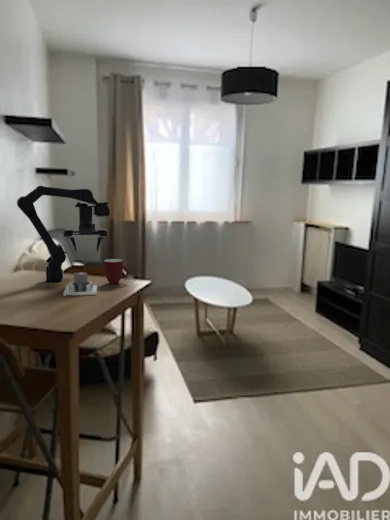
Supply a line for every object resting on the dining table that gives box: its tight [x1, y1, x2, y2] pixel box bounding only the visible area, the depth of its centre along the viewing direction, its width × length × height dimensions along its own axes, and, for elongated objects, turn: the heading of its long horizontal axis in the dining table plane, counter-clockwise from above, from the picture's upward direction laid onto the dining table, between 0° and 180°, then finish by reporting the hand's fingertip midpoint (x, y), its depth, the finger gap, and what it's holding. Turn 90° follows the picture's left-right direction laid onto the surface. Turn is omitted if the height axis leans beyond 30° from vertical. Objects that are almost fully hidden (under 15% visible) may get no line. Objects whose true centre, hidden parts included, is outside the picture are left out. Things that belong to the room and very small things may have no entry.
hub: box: [63, 280, 98, 297], centre depth 159 cm, size 12×12×3 cm
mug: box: [103, 258, 130, 285], centre depth 174 cm, size 10×8×10 cm
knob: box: [73, 271, 88, 291], centre depth 158 cm, size 6×5×6 cm
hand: (86, 251), depth 182 cm, fingers open, 9 cm apart
